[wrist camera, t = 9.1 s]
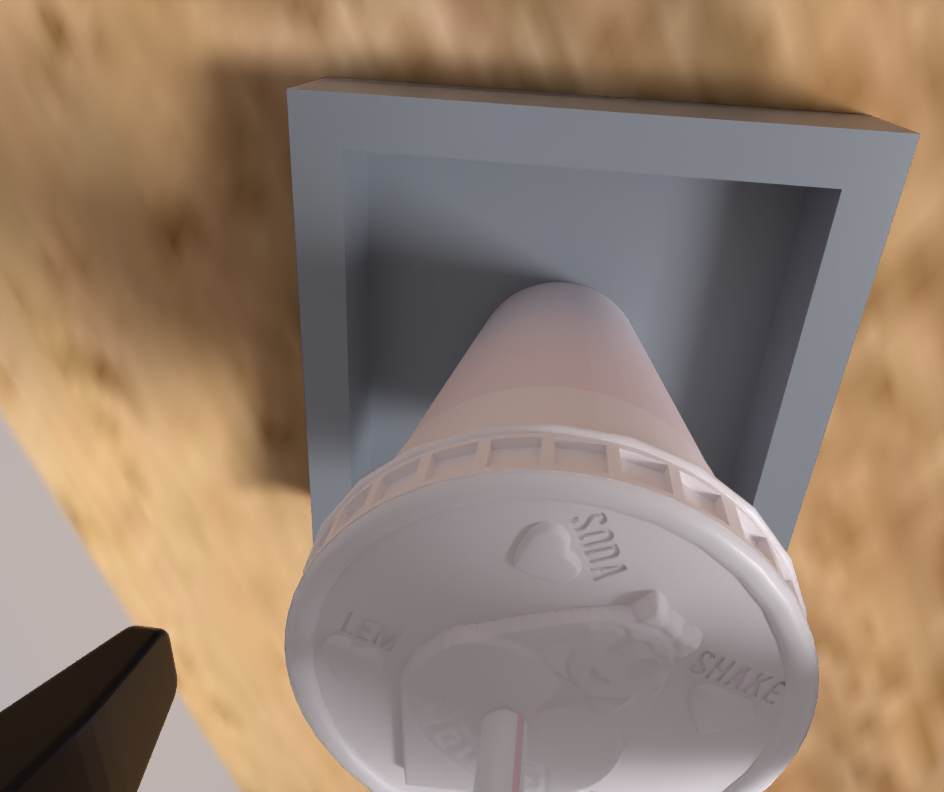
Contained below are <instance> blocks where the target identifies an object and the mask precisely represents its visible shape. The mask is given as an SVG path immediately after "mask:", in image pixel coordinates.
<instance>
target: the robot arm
mask: <svg viewBox="0 0 944 792" xmlns="http://www.w3.org/2000/svg"><path fill="white" fill-rule="evenodd" d="M176 688H177V674H176V669H175V663H174V658H173V653H172V648H171V642H170V638H169V635H168V633H167V632H166V631H165V630H163V629H160V628H152V627H145V626H131V627H128V628H126V629H124V630H123V631H121V632H120V633H118V634H117V635H115V636H114V637H112V638H111V639H109V640H108V641H106V642H105V643H103V644H102V645H100V646H99V647H98V648H96V649H94V650H93V651H91V652H90V653H88V654H87V655H85V656H84V657H82V658H81V659H79V660H78V661H76V662H75V663H73V664H72V665H70V666H69V667H67V668H66V669H64V670H63V671H61V672H60V673H58V674H57V675H55V676H54V677H52V678H51V679H49V680H48V681H46V682H45V683H43V684H42V685H40V686H39V687H37V688H36V689H34V690H33V691H31V692H30V693H28V694H27V695H25V696H24V697H22V698H21V699H19V700H18V701H16V702H15V703H13V704H12V705H11V706H9V707H7V708H6V709H4V710H3V711H1V712H0V792H137V790H138V788H139V785H140V783H141V780H142V778H143V775H144V773H145V770H146V768H147V765H148V762H149V760H150V758H151V755H152V752H153V750H154V747H155V745H156V742H157V740H158V737H159V735H160V732H161V730H162V727H163V725H164V722H165V720H166V717H167V714H168V712H169V710H170V707H171V704H172V702H173V699H174V696H175V693H176Z"/></svg>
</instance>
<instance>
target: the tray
mask: <svg viewBox="0 0 944 792" xmlns="http://www.w3.org/2000/svg"><path fill="white" fill-rule="evenodd" d="M286 90H287V107H288V124H289V141H290V157H291V174H292V191H293V208H294V225H295V242H296V259H297V276H298V293H299V310H300V327H301V344H302V361H303V378H304V394H305V411H306V428H307V445H308V462H309V479H310V496H311V513H312V530H313V545H314V542H315V540H316V537H317V535H318V532H319V530H320V527H321V525H322V523H323V522H324V520H325V519H326V518H327V517H328V516H329V515H330V514H331V512H332V511H333V510H334V509H335V508H336V507H337V505H338V504H339V503H340V502H341V501H342V500H343V498H344V497H345V496H346V495H347V494H348V493H349V492H350V490H351V489H352V488H353V487H354V486H355V485H356V483H357V482H358V481H359V480H361V479H362V478H364V477H366V476H367V475H369V474H370V473H372V472H374V471H375V470H377V469H378V468H380V467H382V466H383V465H385V464H386V463H388V462H390V461H391V460H393V459H394V458H395V457H396V455H397V454H398V452H399V451H400V450H401V448H402V447H403V446H404V445H405V444H406V442H407V441H408V439H409V438H410V436H411V435H412V433H413V432H414V430H415V429H416V427H417V426H418V424H419V423H420V421H421V420H422V418H423V417H424V415H425V414H426V412H427V411H428V409H429V408H430V406H431V405H432V403H433V402H434V400H435V399H436V397H437V396H438V394H439V393H440V391H441V390H442V388H443V387H444V385H445V384H446V382H447V381H448V379H449V378H450V376H451V375H452V373H453V372H454V370H455V369H456V367H457V366H458V364H459V363H460V361H461V360H462V358H463V356H464V355H465V353H466V352H467V350H468V349H469V347H470V346H471V344H472V343H473V341H474V340H475V338H476V337H477V335H478V334H479V332H480V331H481V329H482V328H483V326H484V325H485V323H486V322H487V320H488V319H489V317H490V316H491V314H492V313H493V312H494V311H495V310H496V308H497V307H498V306H499V305H500V304H501V303H502V302H504V301H505V300H506V299H507V298H509V297H510V296H512V295H513V294H515V293H517V292H519V291H521V290H523V289H525V288H528V287H530V286H534V285H537V284H542V283H549V282H567V283H574V284H579V285H582V286H586V287H588V288H591V289H593V290H595V291H597V292H599V293H601V294H603V295H604V296H606V297H607V298H609V299H610V300H611V301H613V302H614V303H615V304H616V305H617V306H618V307H619V308H620V309H621V310H622V312H623V313H624V314H625V316H626V317H627V319H628V320H629V322H630V324H631V326H632V327H633V329H634V331H635V333H636V335H637V337H638V338H639V340H640V342H641V344H642V346H643V348H644V350H645V351H646V353H647V355H648V357H649V359H650V361H651V362H652V364H653V366H654V368H655V370H656V372H657V373H658V375H659V377H660V379H661V381H662V383H663V384H664V386H665V388H666V390H667V392H668V394H669V395H670V397H671V399H672V401H673V403H674V405H675V406H676V408H677V410H678V412H679V414H680V416H681V417H682V419H683V421H684V423H685V425H686V427H687V428H688V430H689V432H690V434H691V436H692V438H693V439H694V441H695V443H696V445H697V447H698V449H699V451H700V452H701V454H702V456H703V458H704V460H705V462H706V463H707V465H708V466H709V468H710V469H711V470H712V472H713V474H714V476H715V477H716V478H717V479H718V480H720V481H721V482H722V483H723V484H725V485H726V486H727V487H729V488H730V489H731V490H733V491H734V492H735V493H736V494H738V495H739V496H740V497H742V498H743V499H744V500H745V501H747V502H748V503H749V504H751V505H752V506H753V507H754V508H755V509H756V510H757V512H758V513H759V514H760V516H761V517H762V519H763V520H764V521H765V523H766V524H767V526H768V527H769V528H770V530H771V531H772V533H773V534H774V535H775V537H776V538H777V540H778V541H779V543H780V544H781V545H782V547H783V548H784V550H785V551H786V552H787V549H788V546H789V543H790V540H791V537H792V533H793V530H794V527H795V524H796V521H797V518H798V515H799V512H800V508H801V505H802V502H803V499H804V496H805V493H806V490H807V487H808V483H809V480H810V477H811V474H812V471H813V468H814V465H815V462H816V458H817V455H818V452H819V449H820V446H821V443H822V440H823V437H824V433H825V430H826V427H827V424H828V421H829V418H830V415H831V412H832V408H833V405H834V402H835V399H836V396H837V393H838V390H839V387H840V383H841V380H842V377H843V374H844V371H845V368H846V365H847V362H848V358H849V355H850V352H851V349H852V346H853V343H854V340H855V337H856V333H857V330H858V327H859V324H860V321H861V318H862V315H863V312H864V308H865V305H866V302H867V299H868V296H869V293H870V290H871V287H872V283H873V280H874V277H875V274H876V271H877V268H878V265H879V262H880V258H881V255H882V252H883V249H884V246H885V243H886V240H887V237H888V233H889V230H890V227H891V224H892V221H893V218H894V215H895V212H896V208H897V205H898V202H899V199H900V196H901V193H902V190H903V187H904V184H905V180H906V177H907V174H908V171H909V168H910V165H911V162H912V159H913V155H914V152H915V149H916V146H917V143H918V140H919V137H920V134H919V133H917V132H914V131H911V130H908V129H906V128H903V127H900V126H898V125H895V124H892V123H890V122H887V121H884V120H881V119H879V118H876V117H873V116H871V115H864V114H850V113H835V112H821V111H807V110H792V109H778V108H764V107H750V106H735V105H721V104H707V103H692V102H678V101H664V100H649V99H635V98H621V97H607V96H592V95H578V94H564V93H549V92H535V91H521V90H506V89H492V88H478V87H464V86H449V85H435V84H421V83H406V82H392V81H378V80H364V79H349V78H335V77H325V78H321V79H318V80H314V81H311V82H307V83H304V84H300V85H297V86H293V87H290V88H286Z"/></svg>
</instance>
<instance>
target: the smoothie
mask: <svg viewBox="0 0 944 792" xmlns="http://www.w3.org/2000/svg"><path fill="white" fill-rule="evenodd" d="M806 614H807V613H806V609H805V606H804V602H803V599H802V595H801V592H800V588H799V585H798V581H797V578H796V574H795V571H794V567H793V564H792V560H791V558H790V557H789V555H788V554H787V552H786V551H785V550H784V548H783V547H782V545H781V544H780V543H779V541H778V540H777V538H776V537H775V535H774V534H773V533H772V531H771V530H770V528H769V527H768V526H767V524H766V523H765V521H764V520H763V519H762V517H761V516H760V514H759V513H758V512H757V510H756V509H755V508H754V507H753V506H752V505H751V504H749V503H748V502H747V501H745V500H744V499H743V498H742V497H740V496H739V495H738V494H736V493H735V492H734V491H733V490H731V489H730V488H729V487H727V486H726V485H725V484H723V483H722V482H721V481H720V480H718V479H717V478H716V477H715V476H714V474H713V472H712V470H711V469H710V468H709V466H708V465H707V463H706V462H705V460H704V458H703V456H702V454H701V452H700V451H699V449H698V447H697V445H696V443H695V441H694V439H693V438H692V436H691V434H690V432H689V430H688V428H687V427H686V425H685V423H684V421H683V419H682V417H681V416H680V414H679V412H678V410H677V408H676V406H675V405H674V403H673V401H672V399H671V397H670V395H669V394H668V392H667V390H666V388H665V386H664V384H663V383H662V381H661V379H660V377H659V375H658V373H657V372H656V370H655V368H654V366H653V364H652V362H651V361H650V359H649V357H648V355H647V353H646V351H645V350H644V348H643V346H642V344H641V342H640V340H639V338H638V337H637V335H636V333H635V331H634V329H633V327H632V326H631V324H630V322H629V320H628V319H627V317H626V316H625V314H624V313H623V312H622V310H621V309H620V308H619V307H618V306H617V305H616V304H615V303H614V302H613V301H611V300H610V299H609V298H607V297H606V296H604V295H603V294H601V293H599V292H597V291H595V290H593V289H591V288H588V287H586V286H582V285H579V284H574V283H567V282H549V283H542V284H537V285H534V286H530V287H528V288H525V289H523V290H521V291H519V292H517V293H515V294H513V295H512V296H510V297H509V298H507V299H506V300H505V301H504V302H502V303H501V304H500V305H499V306H498V307H497V308H496V310H495V311H494V312H493V313H492V314H491V316H490V317H489V319H488V320H487V322H486V323H485V325H484V326H483V328H482V329H481V331H480V332H479V334H478V335H477V337H476V338H475V340H474V341H473V343H472V344H471V346H470V347H469V349H468V350H467V352H466V353H465V355H464V356H463V358H462V360H461V361H460V363H459V364H458V366H457V367H456V369H455V370H454V372H453V373H452V375H451V376H450V378H449V379H448V381H447V382H446V384H445V385H444V387H443V388H442V390H441V391H440V393H439V394H438V396H437V397H436V399H435V400H434V402H433V403H432V405H431V406H430V408H429V409H428V411H427V412H426V414H425V415H424V417H423V418H422V420H421V421H420V423H419V424H418V426H417V427H416V429H415V430H414V432H413V433H412V435H411V436H410V438H409V439H408V441H407V442H406V444H405V445H404V446H403V447H402V448H401V450H400V451H399V452H398V454H397V455H396V457H395V458H394V459H393V460H391V461H390V462H388V463H386V464H385V465H383V466H382V467H380V468H378V469H377V470H375V471H374V472H372V473H370V474H369V475H367V476H366V477H364V478H362V479H361V480H359V481H358V482H357V483H356V485H355V486H354V487H353V488H352V489H351V490H350V492H349V493H348V494H347V495H346V496H345V497H344V498H343V500H342V501H341V502H340V503H339V504H338V505H337V507H336V508H335V509H334V510H333V511H332V512H331V514H330V515H329V516H328V517H327V518H326V519H325V520H324V522H323V523H322V525H321V527H320V530H319V532H318V535H317V537H316V540H315V542H314V545H313V547H312V550H311V552H310V555H309V558H308V560H307V563H306V565H305V568H304V570H303V576H302V578H301V580H300V582H299V585H298V587H297V589H296V591H295V593H294V596H293V599H292V602H291V605H290V608H289V611H288V617H287V623H286V628H285V657H286V667H287V671H288V675H289V680H290V684H291V687H292V690H293V692H294V695H295V698H296V701H297V703H298V705H299V707H300V709H301V711H302V713H303V715H304V717H305V719H306V720H307V722H308V724H309V725H310V727H311V728H312V730H313V732H314V733H315V735H316V737H317V738H318V739H319V740H320V741H321V742H322V744H323V745H324V746H325V748H326V749H327V750H328V751H329V752H330V753H331V754H332V755H333V757H334V758H335V759H336V760H337V761H338V763H339V764H340V765H341V766H342V767H343V768H345V769H346V770H347V771H348V772H349V773H350V774H352V775H353V776H354V777H355V778H356V779H358V780H359V781H360V782H361V783H362V784H363V785H365V786H366V787H367V788H368V789H369V790H371V791H372V792H762V791H764V790H765V789H766V788H767V787H769V786H770V785H771V784H772V783H773V782H774V780H775V779H776V778H777V777H778V776H779V775H780V774H781V773H782V772H783V771H784V769H785V768H786V767H787V766H788V764H789V763H790V762H791V760H792V759H793V757H794V756H795V755H796V753H797V752H798V750H799V748H800V746H801V744H802V742H803V741H804V739H805V737H806V735H807V732H808V730H809V727H810V725H811V722H812V719H813V716H814V712H815V707H816V703H817V699H818V686H819V670H818V658H817V653H816V648H815V644H814V639H813V636H812V633H811V631H810V628H809V625H808V622H807V620H806Z"/></svg>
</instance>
